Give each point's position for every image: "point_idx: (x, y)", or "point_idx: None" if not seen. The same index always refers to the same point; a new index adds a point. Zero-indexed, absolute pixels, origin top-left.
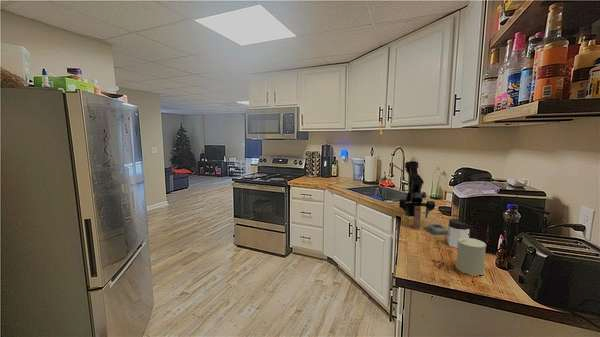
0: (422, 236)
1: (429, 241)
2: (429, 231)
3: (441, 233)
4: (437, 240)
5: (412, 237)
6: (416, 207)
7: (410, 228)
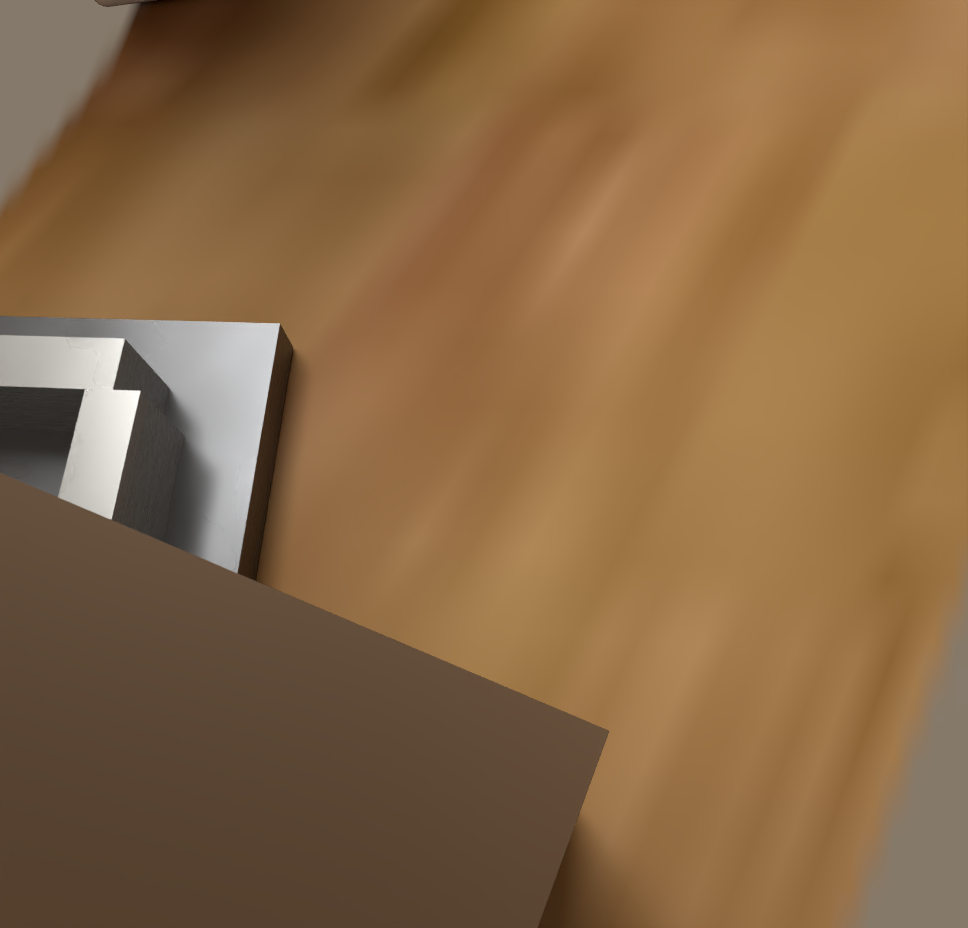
0: (599, 278)
1: (594, 40)
2: (259, 483)
3: (61, 323)
4: (395, 78)
5: (881, 234)
6: (431, 665)
7: (642, 914)
